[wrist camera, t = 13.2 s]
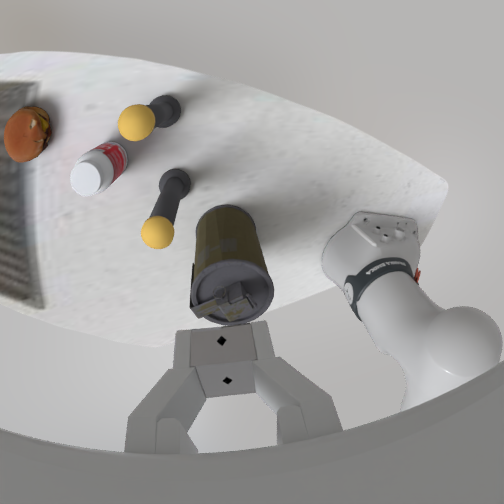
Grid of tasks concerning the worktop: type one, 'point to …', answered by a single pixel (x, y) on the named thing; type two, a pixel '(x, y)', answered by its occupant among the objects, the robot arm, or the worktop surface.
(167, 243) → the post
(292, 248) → the worktop surface
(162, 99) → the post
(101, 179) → the pill bottle
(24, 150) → the burger
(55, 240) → the worktop surface
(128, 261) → the worktop surface
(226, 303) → the canister
